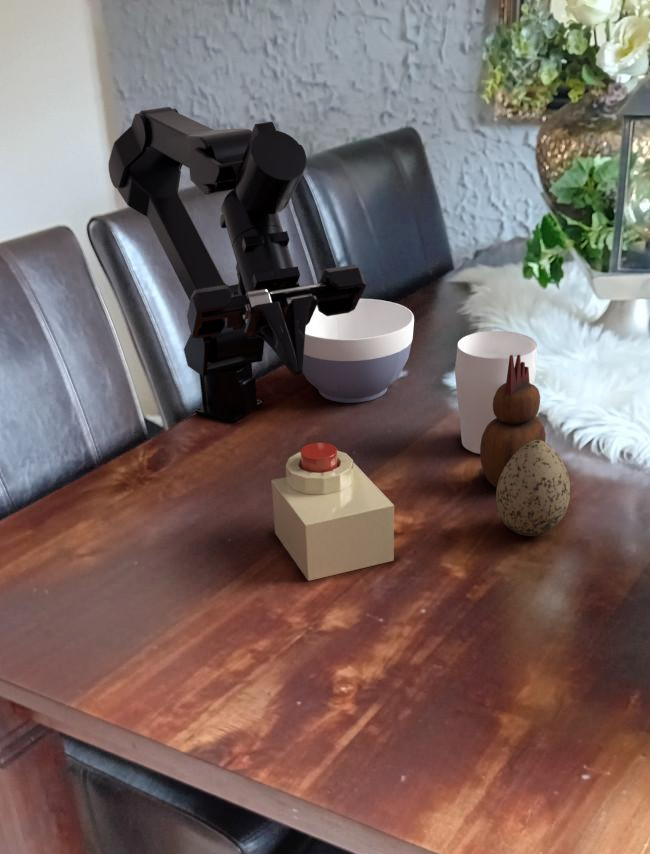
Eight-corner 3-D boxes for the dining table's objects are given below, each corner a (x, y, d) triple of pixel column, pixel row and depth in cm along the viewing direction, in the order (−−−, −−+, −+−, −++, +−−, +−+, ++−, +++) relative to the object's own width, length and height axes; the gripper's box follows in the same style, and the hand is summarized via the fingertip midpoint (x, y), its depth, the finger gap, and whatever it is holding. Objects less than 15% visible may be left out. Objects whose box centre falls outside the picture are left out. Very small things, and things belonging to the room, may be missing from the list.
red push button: (296, 462, 100) (295, 446, 99) (329, 456, 101) (329, 439, 100) (308, 477, 97) (307, 461, 96) (343, 470, 98) (342, 454, 97)
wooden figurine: (500, 501, 107) (511, 365, 98) (469, 480, 111) (476, 348, 102) (551, 484, 109) (566, 351, 101) (518, 464, 114) (529, 334, 105)
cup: (528, 462, 114) (538, 360, 107) (448, 459, 116) (453, 358, 109) (529, 429, 121) (538, 331, 114) (454, 426, 123) (458, 329, 116)
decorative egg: (479, 525, 103) (485, 435, 97) (537, 508, 105) (546, 419, 100) (519, 557, 98) (528, 464, 92) (580, 538, 100) (592, 447, 94)
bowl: (309, 421, 126) (306, 346, 121) (281, 376, 139) (277, 307, 133) (429, 403, 129) (431, 329, 123) (391, 361, 141) (391, 292, 136)
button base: (271, 528, 105) (265, 458, 100) (350, 510, 107) (349, 441, 102) (308, 581, 96) (304, 507, 92) (393, 561, 99) (394, 488, 94)
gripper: (322, 269, 117) (360, 391, 115) (168, 293, 113) (204, 421, 111) (346, 212, 107) (388, 346, 105) (176, 236, 102) (216, 377, 100)
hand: (298, 374), depth 105 cm, fingers closed
